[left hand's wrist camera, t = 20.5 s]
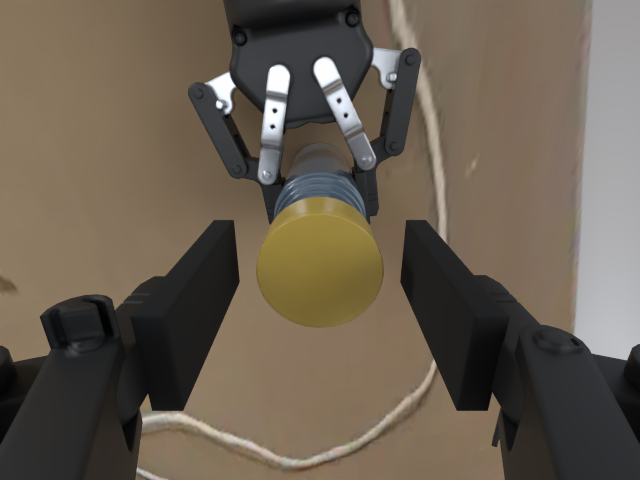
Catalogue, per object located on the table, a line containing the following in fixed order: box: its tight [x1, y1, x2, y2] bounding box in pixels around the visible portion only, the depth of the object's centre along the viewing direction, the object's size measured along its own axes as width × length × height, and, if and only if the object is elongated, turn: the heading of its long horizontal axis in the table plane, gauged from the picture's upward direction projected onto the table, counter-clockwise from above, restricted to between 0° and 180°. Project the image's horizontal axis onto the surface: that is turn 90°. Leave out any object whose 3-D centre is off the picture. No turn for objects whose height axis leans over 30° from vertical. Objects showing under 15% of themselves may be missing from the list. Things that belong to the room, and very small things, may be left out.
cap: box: [257, 197, 383, 327], centre depth 13 cm, size 4×4×2 cm
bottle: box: [274, 143, 366, 219], centre depth 21 cm, size 5×5×18 cm
